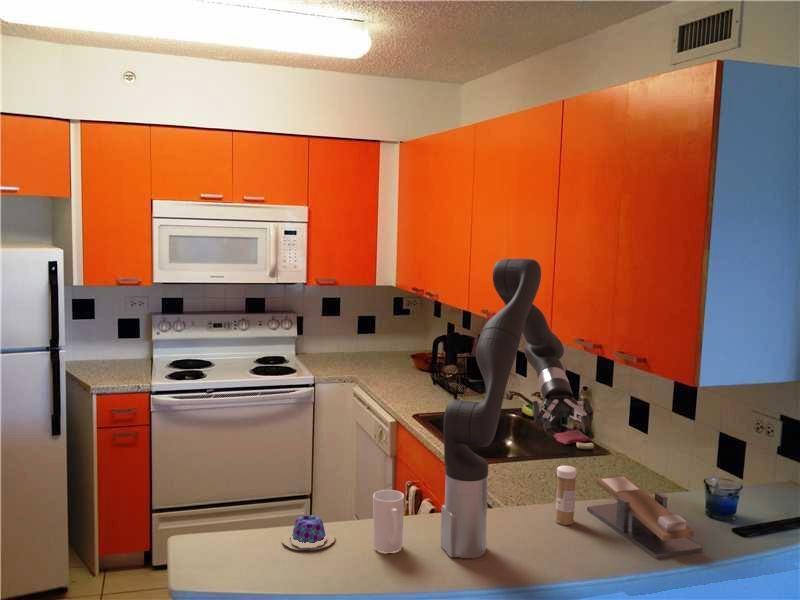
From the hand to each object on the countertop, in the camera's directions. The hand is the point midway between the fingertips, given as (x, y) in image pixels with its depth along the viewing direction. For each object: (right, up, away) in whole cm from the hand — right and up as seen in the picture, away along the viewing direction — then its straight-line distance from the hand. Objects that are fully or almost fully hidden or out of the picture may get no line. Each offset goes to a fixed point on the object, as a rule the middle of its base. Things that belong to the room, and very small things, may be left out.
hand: (568, 431), depth 172 cm
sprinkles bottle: (-1, -22, +1) cm, 22 cm away
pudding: (-61, -23, -11) cm, 66 cm away
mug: (-43, -24, -15) cm, 51 cm away
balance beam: (+17, -17, -3) cm, 24 cm away
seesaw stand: (+16, -23, -3) cm, 28 cm away
